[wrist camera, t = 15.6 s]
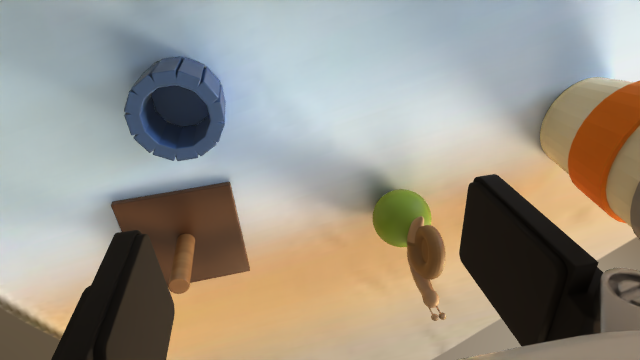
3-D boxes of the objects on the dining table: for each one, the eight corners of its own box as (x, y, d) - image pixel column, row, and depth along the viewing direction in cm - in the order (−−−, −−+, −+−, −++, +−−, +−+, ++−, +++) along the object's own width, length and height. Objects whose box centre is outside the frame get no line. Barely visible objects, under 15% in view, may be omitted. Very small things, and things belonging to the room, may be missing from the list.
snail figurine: (362, 235, 41) (407, 326, 31) (368, 181, 38) (420, 261, 28) (411, 231, 42) (470, 317, 32) (420, 177, 39) (489, 253, 29)
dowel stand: (112, 201, 34) (88, 249, 28) (230, 181, 35) (230, 223, 29) (147, 287, 39) (133, 342, 33) (249, 266, 40) (252, 316, 34)
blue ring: (126, 63, 29) (111, 78, 25) (215, 52, 30) (212, 64, 26) (152, 143, 32) (142, 167, 28) (231, 130, 33) (232, 152, 29)
